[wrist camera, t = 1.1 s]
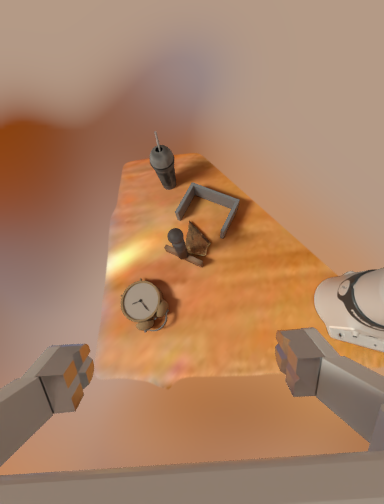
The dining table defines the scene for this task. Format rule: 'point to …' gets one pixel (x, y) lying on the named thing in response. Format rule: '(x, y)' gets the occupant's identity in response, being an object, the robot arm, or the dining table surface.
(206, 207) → the dining table surface
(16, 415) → the robot arm
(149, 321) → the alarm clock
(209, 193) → the box
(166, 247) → the ball-topped joystick
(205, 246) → the shard
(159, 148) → the beverage cup
